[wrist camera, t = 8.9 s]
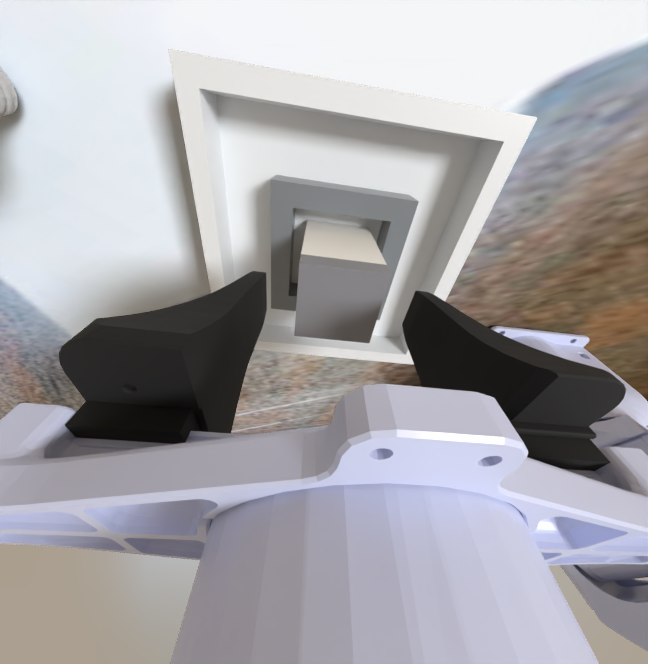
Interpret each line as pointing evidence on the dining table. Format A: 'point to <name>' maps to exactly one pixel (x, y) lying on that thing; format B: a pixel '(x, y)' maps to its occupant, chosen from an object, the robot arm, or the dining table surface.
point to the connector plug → (339, 283)
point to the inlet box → (336, 184)
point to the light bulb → (7, 95)
